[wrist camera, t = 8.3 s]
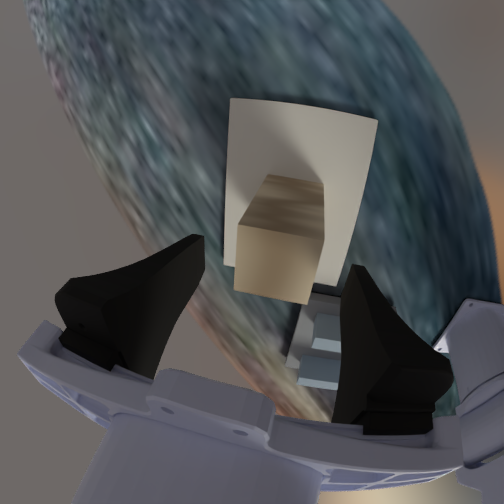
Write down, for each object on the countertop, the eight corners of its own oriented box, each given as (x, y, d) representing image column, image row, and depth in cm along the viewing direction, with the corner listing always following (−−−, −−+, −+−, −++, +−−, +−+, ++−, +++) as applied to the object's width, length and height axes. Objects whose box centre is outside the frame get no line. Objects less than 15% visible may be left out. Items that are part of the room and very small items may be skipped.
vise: (395, 306, 23) (402, 338, 20) (357, 370, 29) (357, 398, 26) (305, 291, 25) (301, 323, 21) (286, 359, 31) (280, 387, 28)
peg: (323, 183, 19) (324, 240, 12) (313, 232, 21) (307, 304, 14) (267, 173, 19) (237, 224, 13) (262, 223, 21) (233, 289, 15)
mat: (376, 119, 16) (378, 120, 15) (336, 283, 23) (336, 286, 23) (232, 97, 17) (230, 98, 17) (225, 262, 25) (223, 264, 25)
